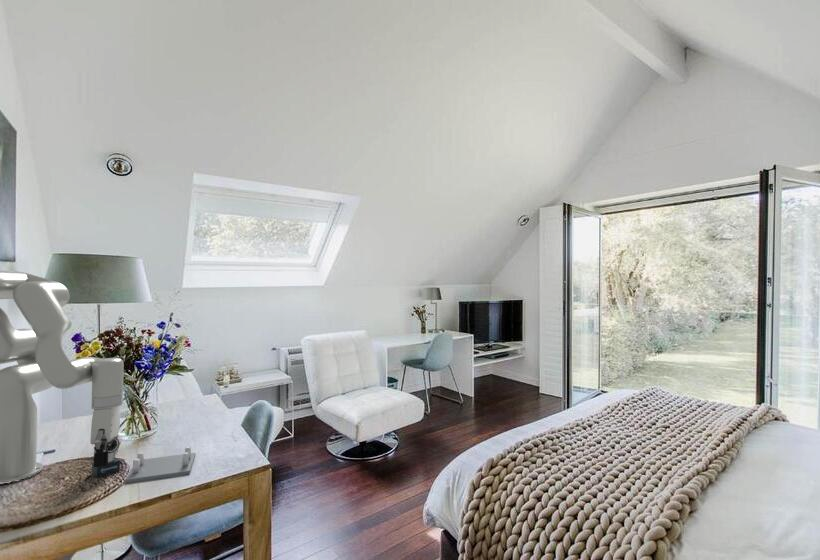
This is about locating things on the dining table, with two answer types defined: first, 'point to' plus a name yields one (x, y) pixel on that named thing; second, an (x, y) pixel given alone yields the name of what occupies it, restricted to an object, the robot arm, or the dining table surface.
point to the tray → (161, 466)
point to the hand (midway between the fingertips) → (106, 459)
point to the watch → (109, 460)
